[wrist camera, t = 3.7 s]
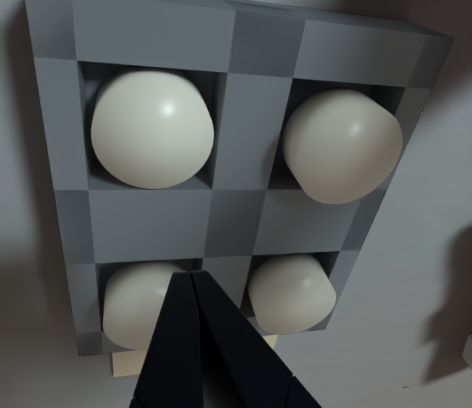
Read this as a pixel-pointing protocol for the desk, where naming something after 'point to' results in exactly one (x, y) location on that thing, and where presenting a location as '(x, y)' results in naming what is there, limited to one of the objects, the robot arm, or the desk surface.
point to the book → (468, 351)
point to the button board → (225, 136)
